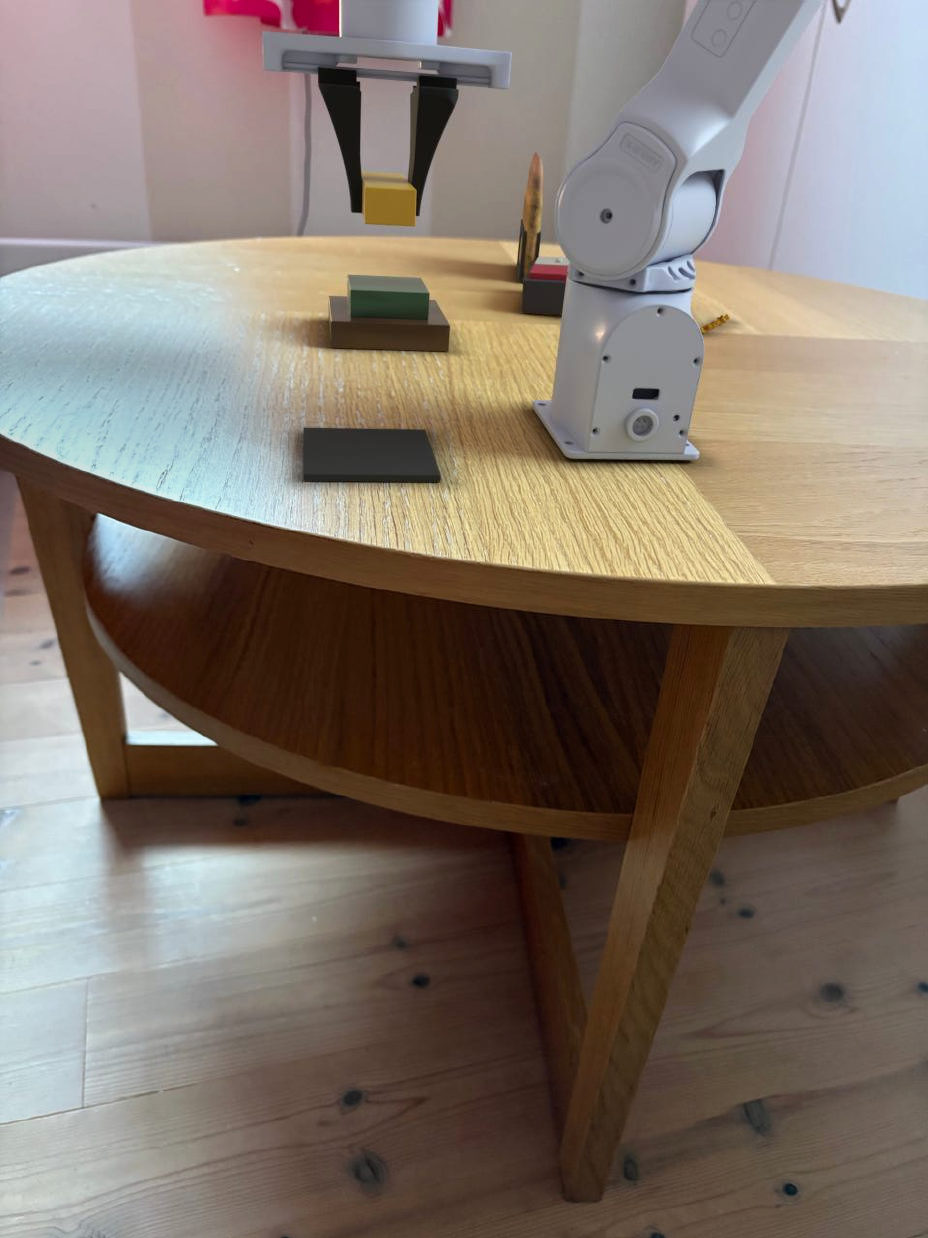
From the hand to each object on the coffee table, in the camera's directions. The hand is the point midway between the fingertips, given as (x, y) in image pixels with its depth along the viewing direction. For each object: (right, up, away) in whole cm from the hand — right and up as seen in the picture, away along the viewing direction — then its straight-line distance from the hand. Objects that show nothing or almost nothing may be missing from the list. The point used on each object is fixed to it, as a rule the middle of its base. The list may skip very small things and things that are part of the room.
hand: (385, 212), depth 57 cm
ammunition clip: (+12, +13, +43) cm, 46 cm away
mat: (0, -17, -9) cm, 19 cm away
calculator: (+19, +4, +29) cm, 35 cm away
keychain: (+28, +1, +26) cm, 38 cm away
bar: (0, 0, 0) cm, 0 cm away
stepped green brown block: (-1, -3, +15) cm, 15 cm away
